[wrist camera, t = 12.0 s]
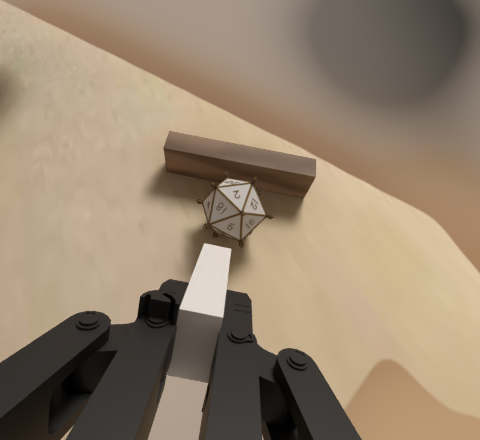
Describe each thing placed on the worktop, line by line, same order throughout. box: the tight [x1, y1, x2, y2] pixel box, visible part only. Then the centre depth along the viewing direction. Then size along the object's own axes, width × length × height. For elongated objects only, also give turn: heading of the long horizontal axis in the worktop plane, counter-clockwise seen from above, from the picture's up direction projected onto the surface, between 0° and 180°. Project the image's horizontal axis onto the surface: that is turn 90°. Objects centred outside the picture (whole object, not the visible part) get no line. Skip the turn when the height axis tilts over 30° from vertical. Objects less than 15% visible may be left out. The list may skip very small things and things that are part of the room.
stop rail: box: [164, 131, 316, 197], centre depth 43 cm, size 3×20×5 cm, turn 82°
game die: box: [196, 172, 274, 248], centre depth 38 cm, size 9×8×10 cm
